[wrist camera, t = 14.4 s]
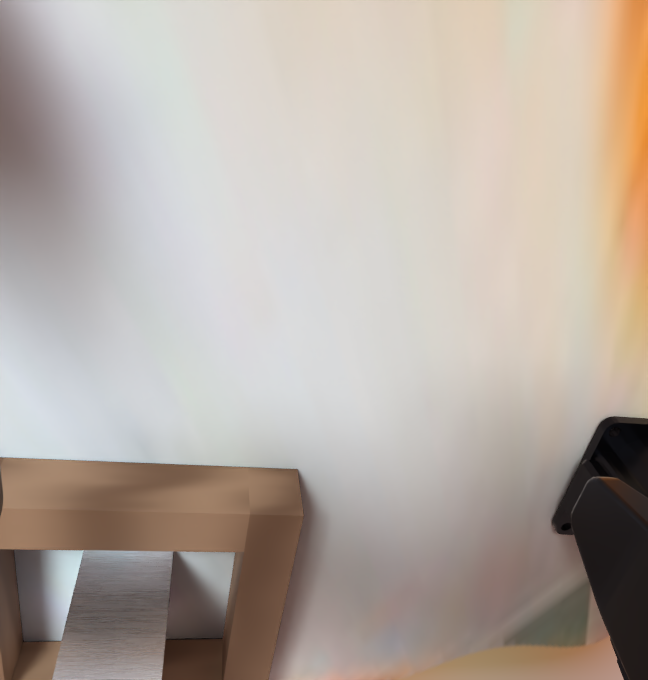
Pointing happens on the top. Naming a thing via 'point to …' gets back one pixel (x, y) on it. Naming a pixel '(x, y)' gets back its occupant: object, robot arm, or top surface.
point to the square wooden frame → (157, 547)
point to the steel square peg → (117, 617)
